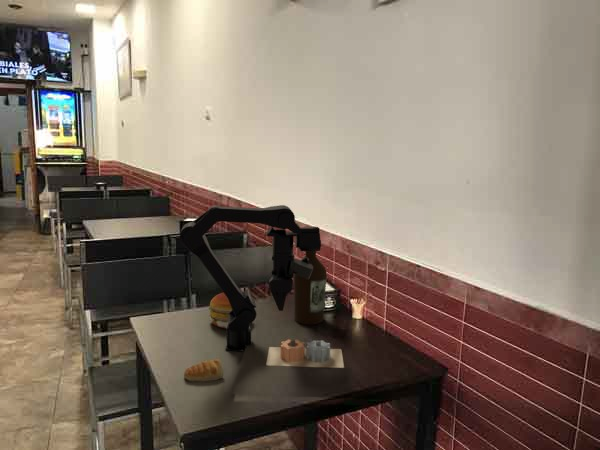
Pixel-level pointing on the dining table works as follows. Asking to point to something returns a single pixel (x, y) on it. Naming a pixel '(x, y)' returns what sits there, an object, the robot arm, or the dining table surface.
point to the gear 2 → (318, 351)
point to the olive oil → (310, 293)
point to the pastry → (205, 371)
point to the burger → (220, 310)
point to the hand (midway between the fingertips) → (281, 304)
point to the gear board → (275, 359)
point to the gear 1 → (292, 350)
